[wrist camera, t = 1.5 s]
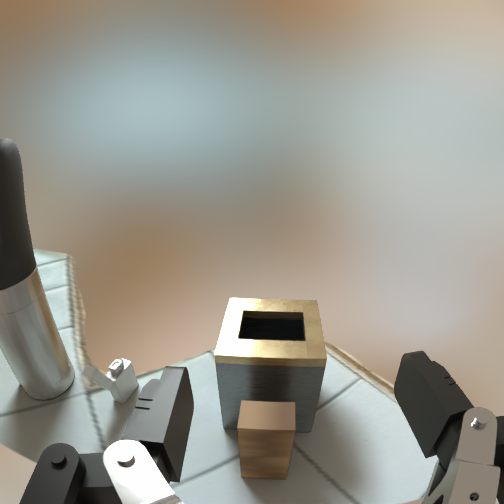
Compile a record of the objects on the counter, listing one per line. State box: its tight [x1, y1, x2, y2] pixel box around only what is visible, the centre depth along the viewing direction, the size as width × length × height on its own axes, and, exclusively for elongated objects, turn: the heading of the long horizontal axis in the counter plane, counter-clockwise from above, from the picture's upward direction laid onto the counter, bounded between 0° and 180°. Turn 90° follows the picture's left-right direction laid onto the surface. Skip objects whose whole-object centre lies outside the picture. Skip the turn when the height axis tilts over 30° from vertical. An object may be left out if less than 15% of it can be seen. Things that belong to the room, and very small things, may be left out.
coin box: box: [215, 298, 327, 432], centre depth 33 cm, size 10×10×12 cm
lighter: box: [82, 358, 139, 404], centre depth 33 cm, size 7×2×8 cm, turn 164°
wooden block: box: [237, 400, 295, 479], centre depth 24 cm, size 4×3×10 cm, turn 85°
